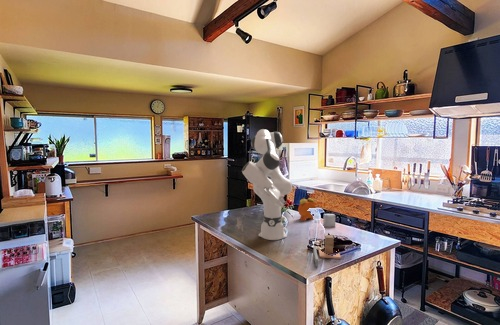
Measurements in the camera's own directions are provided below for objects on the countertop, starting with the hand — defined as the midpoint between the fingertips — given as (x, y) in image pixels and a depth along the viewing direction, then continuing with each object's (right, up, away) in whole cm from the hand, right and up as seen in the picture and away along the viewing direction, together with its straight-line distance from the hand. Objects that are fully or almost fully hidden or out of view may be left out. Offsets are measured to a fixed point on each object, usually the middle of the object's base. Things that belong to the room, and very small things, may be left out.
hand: (283, 204), depth 150 cm
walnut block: (+27, -28, +7) cm, 39 cm away
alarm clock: (+28, -23, +77) cm, 85 cm away
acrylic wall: (+17, -29, 0) cm, 34 cm away
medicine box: (+41, -25, +58) cm, 76 cm away
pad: (+27, -29, +7) cm, 40 cm away
